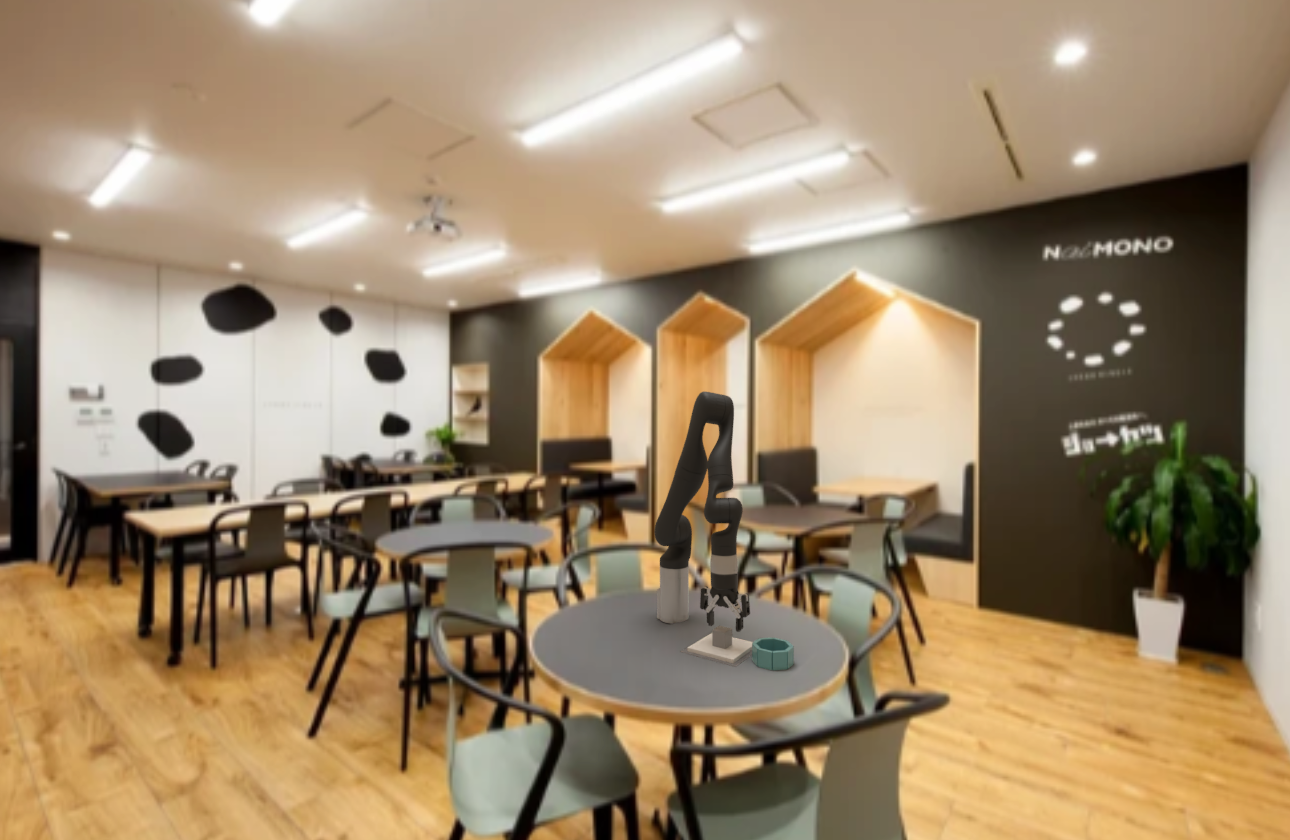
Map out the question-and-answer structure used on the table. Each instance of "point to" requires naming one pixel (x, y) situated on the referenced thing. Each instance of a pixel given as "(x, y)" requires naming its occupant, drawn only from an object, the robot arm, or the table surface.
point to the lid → (721, 645)
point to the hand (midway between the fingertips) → (724, 628)
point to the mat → (717, 659)
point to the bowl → (773, 653)
